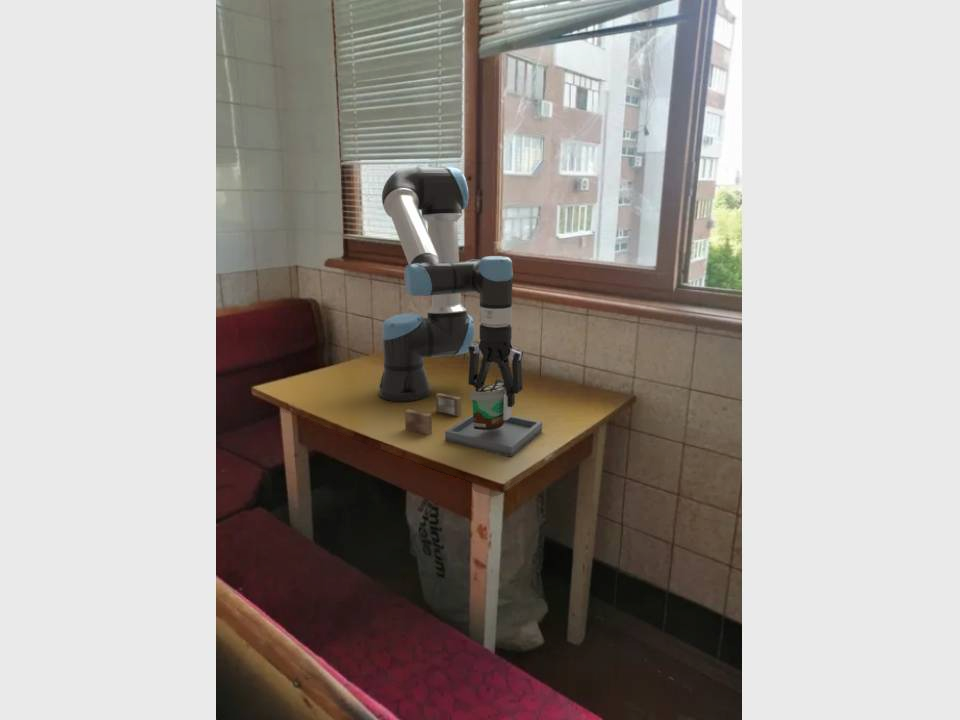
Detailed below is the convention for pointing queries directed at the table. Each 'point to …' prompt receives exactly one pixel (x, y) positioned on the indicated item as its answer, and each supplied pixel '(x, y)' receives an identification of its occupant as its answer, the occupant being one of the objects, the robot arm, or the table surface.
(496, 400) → the food container
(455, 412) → the brown rectangular blocks
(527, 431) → the tray
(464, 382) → the table surface
